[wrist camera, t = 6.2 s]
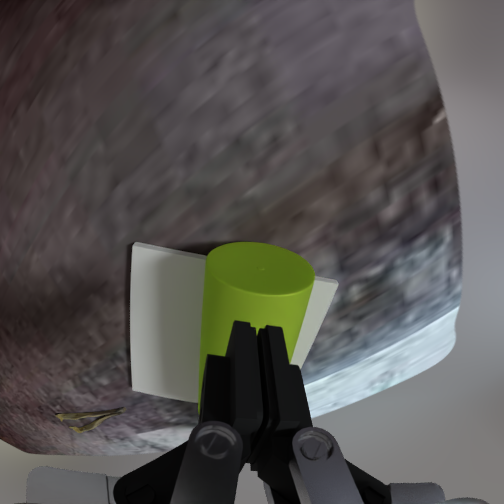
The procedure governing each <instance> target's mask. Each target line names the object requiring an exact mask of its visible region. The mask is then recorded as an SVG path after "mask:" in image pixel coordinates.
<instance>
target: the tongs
mask: <svg viewBox="0 0 504 504" xmlns="http://www.w3.org/2000/svg"><path fill="white" fill-rule="evenodd" d="M125 411H126V408H125V407H122V408H118V409H112V410H108V411H101V412H90V413H70V414H57V415H55V416H57V417H58V418H60V420H61V421H62V420H63V419H72V420H75V419H79V418H85V417H96V416H102V415H106V414H107V415H106V416H104V417H102V418H99V419H97V420H95V421H94V422H92V423H91V424H89V425H85V426H84V427H85V429H84V427H80V428H77V427H76V429H77V430H76V429H75V427H71V426H69V428H73V429H74V430H75V431H76V432H78V433H82V432H84V431H88V430H91V429H93V428H95V427H97V426H98V425H100V424H101V423H102V422H103V421H104V420H106V419H108V418H110V417H112V416H117V415H120V414H122V413H124V412H125ZM83 429H84V430H83Z"/></svg>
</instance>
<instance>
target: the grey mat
mask: <svg viewBox="0 0 504 504" xmlns="http://www.w3.org/2000/svg"><path fill="white" fill-rule="evenodd" d="M206 258H207V256H205V255H200V254H195V253H190V252H185V251H180V250H174V249H169V248H164V247H159V246H154V245H149V244H144V243H139V242H135V243H134V244H133V248H132V265H131V292H130V344H131V371H132V388H133V390H134V391H138V392H142V393H147V394H151V395H156V396H161V397H166V398H171V399H176V400H182V401H188V402H194V403H198V388H199V361H200V340H201V321H202V305H203V290H204V276H205V263H206ZM337 287H338V282H337V280H334V279H329V278H323V277H318V276H315V281H314V285H313V288H312V292H311V296H310V299H309V303H308V306H307V310H306V313H305V317H304V320H303V324H302V327H301V330H300V334H299V337H298V340H297V344H296V347H295V350H294V353H293V357H292V360H291V363H290V364H294V365H298V366H299V367H300V369H301V367H302V365H303V363H304V361H305V359H306V356H307V354H308V352H309V350H310V348H311V346H312V344H313V342H314V339H315V337H316V335H317V333H318V331H319V328H320V326H321V324H322V322H323V320H324V317H325V315H326V313H327V310H328V308H329V306H330V303H331V301H332V299H333V296H334V294H335V292H336V289H337Z"/></svg>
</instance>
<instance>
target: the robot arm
mask: <svg viewBox="0 0 504 504" xmlns="http://www.w3.org/2000/svg"><path fill="white" fill-rule="evenodd" d="M245 463H250V464H251V465H250V466H251V471H257V472H258V477H259V478H260V479H261V480H263V483H264V489H265V493H266V497H267V501H268V504H489V503H487V502H486V501H484V500H481V499H477V498H468V497H467V498H455V499H451V500H446V501H445V495H444V492H443V489H442V488H441V487H440V486H439V485H437V484H436V483H432V482H428V483H390V484H389V485H385V484H383V483H382V482H381V481H379V480H377V479H376V478H374V477H372V476H371V475H369V474H367V473H366V472H364V471H363V470H361V469H359V468H358V467H356V466H355V465H353V464H352V463H350V462H349V461H347V460H346V459H344V457H343V454H342V452H341V450H340V447H339V445H338V443H337V441H336V439H335V438H334V436H332V435H331V434H330V433H329V432H328V431H326V430H324V429H321V428H317V427H313V425H312V421H311V416H310V411H309V407H308V402H307V397H306V393H305V388H304V384H303V379H302V375H301V370H300V367H299V366H298V365H294V364H290V363H289V358H288V353H287V348H286V343H285V338H284V333H283V328H282V327H279V326H272V325H266V326H265V328H259V331H258V334H257V335H256V328H255V327H251V324H250V322H244V321H238V320H234V322H233V326H232V330H231V334H230V338H229V342H228V346H227V350H226V354H225V356H219V355H212V354H207V357H206V362H205V368H204V374H203V381H202V390H201V401H200V412H199V424H198V425H197V426H196V427H195V428H194V429H193V430H192V432H191V434H190V436H189V440H188V441H186V442H184V443H183V444H181V445H179V446H178V447H176V448H174V449H173V450H171V451H169V452H167V453H166V454H164V455H162V456H160V457H159V458H157V459H155V460H153V461H151V462H149V463H147V464H146V465H144V466H142V467H140V468H138V469H136V470H134V471H132V472H130V473H128V474H126V475H124V476H123V477H112V476H107V475H106V474H99V473H88V472H79V471H72V470H65V469H59V468H53V467H47V466H40V467H37V468H34V469H33V470H32V471H31V472H30V473H29V475H28V478H27V490H26V492H27V493H26V503H17V504H234V501H235V495H236V488H237V482H238V476H239V473H240V472H241V470H242V468H243V466H244V464H245Z"/></svg>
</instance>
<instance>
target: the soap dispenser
mask: <svg viewBox="0 0 504 504" xmlns="http://www.w3.org/2000/svg"><path fill="white" fill-rule="evenodd" d="M314 281H315V272H314V270H313V268H312V266H311V265H310V264H309V263H308V262H307V261H306V260H305V259H304V258H302V257H301V256H299V255H297V254H296V253H294V252H291V251H289V250H287V249H284V248H281V247H278V246H274V245H270V244H265V243H258V242H234V243H228V244H224V245H221V246H219V247H217V248H215V249H213V250H212V251H211V252H210V253H209V254H208V255H207V258H206V263H205V276H204V290H203V305H202V321H201V340H200V361H199V388H198V413H199V412H200V401H201V390H202V381H203V374H204V368H205V362H206V357H207V354H212V355H219V356H225V354H226V350H227V346H228V342H229V338H230V334H231V330H232V326H233V322H234V320H238V321H244V322H250V324H251V327H255V328H256V335H257V334H258V331H259V328H265V326H266V325H272V326H279V327H282V328H283V333H284V338H285V343H286V348H287V353H288V358H289V363H291V360H292V357H293V353H294V350H295V347H296V344H297V340H298V337H299V334H300V330H301V327H302V324H303V320H304V317H305V313H306V310H307V306H308V303H309V299H310V296H311V292H312V288H313V285H314Z"/></svg>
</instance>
